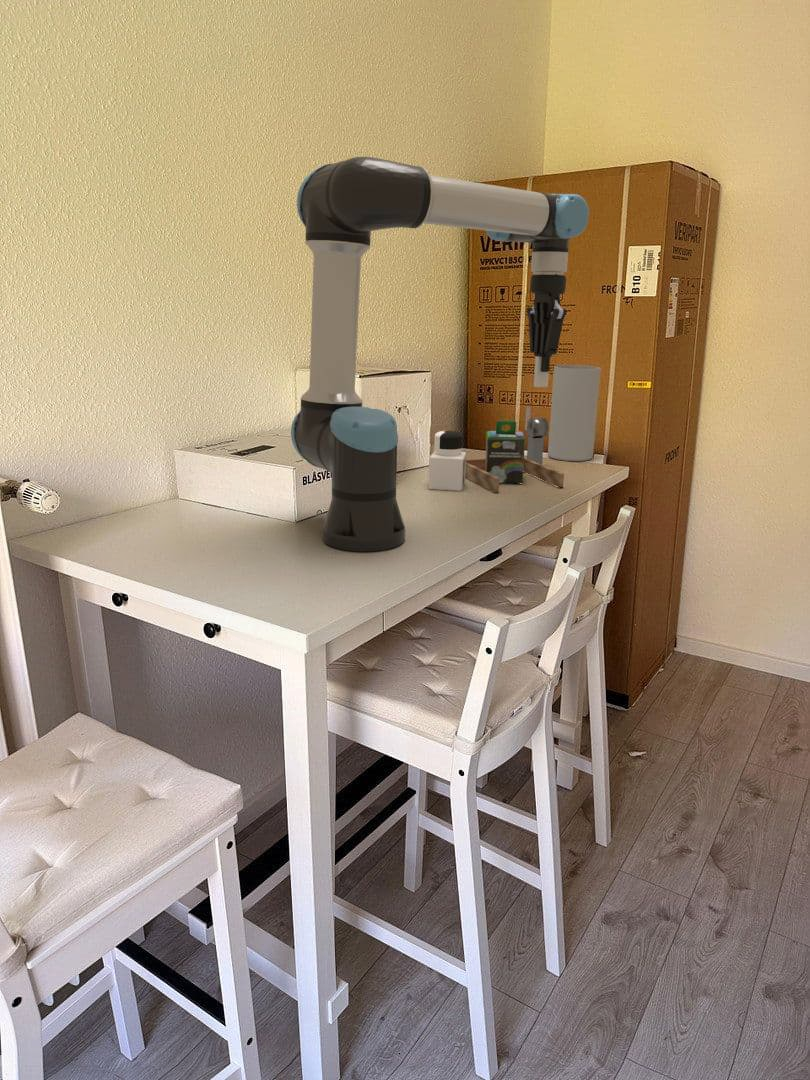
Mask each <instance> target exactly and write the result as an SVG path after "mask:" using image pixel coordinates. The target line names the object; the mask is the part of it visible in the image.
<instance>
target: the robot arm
mask: <svg viewBox="0 0 810 1080" xmlns="http://www.w3.org/2000/svg"><path fill="white" fill-rule="evenodd" d="M296 207H297V210H296V211H297V213H298V217H299V219H300V221H301V222H302V224H303V225H304V228H305V242H304V243H305V245H306V246H307V247H308V248H309V250H310V251H311V252H312V253H313V261H312V262H313V263H312V265H313V267H312V268H313V269H312V295H311V297H312V299H311V322H310V323H311V326H310V327H311V329H310V354H309V355H310V358H309V362H310V363H309V366H310V367H309V386H308V389H307V390H306V391H305V392H304V393H303V394H302V395H301V397H300V410H299V412H298V413H297V414H296V415H295V416H294V418H293V420H292V423H291V428H290V437H291V443H292V445H293V448H294V449H295V451H296V452H297V454H298V455H299V456H300V457H301V458H302V459H303V460H305V461H307V463H309V464H310V465H311V466H313V467H317V468H319V469H322V470H324V471H327V472H329V473H331V500H330V503H329V507H328V510H327V513H326V516H325V519H324V523H323V526H322V541H323V543H324V544H325V545H327V546H329V547H332V548H335V549H339V550H344V551H351V552H377V551H385V550H390V549H393V548H396V547H399V546H402V545H403V543H405V542H406V541H405V540H406V527H405V523H404V521H403V518H402V514H401V510H400V507H399V504H398V501H397V472H398V471H397V469H398V467H397V465H398V443H399V435H398V434H399V433H398V427H397V426H398V425H397V421H396V418H394V416H393V415H392V414H390V412H386V411H384V410H382V409H379V408H370V407H367V406H363V399H362V398H361V396H360V395H358V394H357V392H356V371H357V354H358V353H357V349H358V330H359V329H358V328H359V309H360V308H359V306H360V291H361V290H360V289H361V272H362V271H361V269H362V267H361V266H362V257H363V256H364V255H365V254H366V252H368V251H369V250H370V249H371V234H372V232H373V231H379V230H385V229H387V230H388V229H394V228H395V229H398V228H405V229H419V228H420V227H421V226H422V225H424V224H427V225H436V226H445V227H453V228H460V229H461V228H463V229H470V230H478V231H485V233H486V235H487V236H488V237H489V238H490V239H491V240H494V241H499V242H502V243H506V242H509V243H510V242H511V243H512V242H514V243H530V244H532V249H531V250H532V253H531V265H530V267H531V268H530V271H531V272H532V273H533V274H532V275H531V276H530V280H529V281H530V283H529V284H530V285H529V293H531V294H534V299H533V305H532V306H531V307H527V308H526V313H527V318H528V335H529V351H530V353H533V356H535V360H534V376H533V387H535V388H548V387H549V377H550V376H549V375H550V363H551V357H552V356H553V355H557V352H558V348H559V342H560V338H561V335H562V328H563V323H564V319H565V317H566V315H567V309H566V308H562V307H561V299H560V298H561V297H560V295H563V294H565V293H566V290H567V289H566V287H567V277H566V275H564V273H567V271H568V262H569V257H568V256H569V249H570V248H569V246H570V238H575V237H578V236H580V235H581V234H582V233H583V232H584V231H585V230H586V228H587V226H588V223H589V217H590V209H589V205H588V203H587V201H586V200H585V198H584V197H583V196H581V195H579V194H576V193H574V194H573V193H570V194H569V193H546V192H545V193H544V192H537V191H533V190H527V189H526V190H525V189H519V188H513V187H506V186H500V185H494V184H488V183H481V182H474V181H470V180H469V181H468V180H463V179H456V178H449V177H443V176H437V175H432V174H431V175H430V173H429V172H428V170H427V169H426V168H424V167H423V166H418V165H411V164H407V163H402V162H397V161H393V160H387V159H383V158H378V157H373V156H356V157H355V156H354V157H351V158H348V159H344V160H341V161H338V162H334V163H327V164H324V165H321V166H319V167H317V168H316V169H315V170H313V171H311V172H310V173H309V174H308V175H307V176H306V177H305V178H304V179H303V181H302V182H301V185H300V186H299V189H298V192H297V198H296Z"/></svg>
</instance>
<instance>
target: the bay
mask: <svg viewBox="0 0 810 1080" xmlns="http://www.w3.org/2000/svg"><path fill="white" fill-rule="evenodd" d="M485 463H486V458H474V459H473V458H472V459H466V469H465V479H467V480H469V481H470V480H471V482H472V483H474V484H476V483H477V484H476V485H478V484H479V485H478V486H480V485H481V486H480V487H482V486H483V487H482V488H484V487H485V488H484V489H486V488H487V489H489V490H491V491H493V492H498V493H499V489H500V487H499V486H500V483H499V478H498V477H496V476H494V475H492V474H490V473H488V472H486V471H485ZM523 471H524V472H526V473H528V474H531V475H533V476H536V477H538V478H540V479H542V480H544V481H547V482H549V483H551V484H553V485H556V486H558V487H563V488H564V479H565V473H564V472H561V471H558V470H556V469H554V468H551V467H549V466H546V465H543V464H542V465H541V464H539V463H537V462H534V461H532V460H529V459H527V457H524V467H523ZM526 473H525V474H526ZM528 474H527V475H528ZM544 481H543V482H544ZM553 485H552V486H553ZM487 489H486V490H487ZM489 490H488V491H489ZM491 491H490V492H491ZM493 492H492V493H493Z"/></svg>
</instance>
